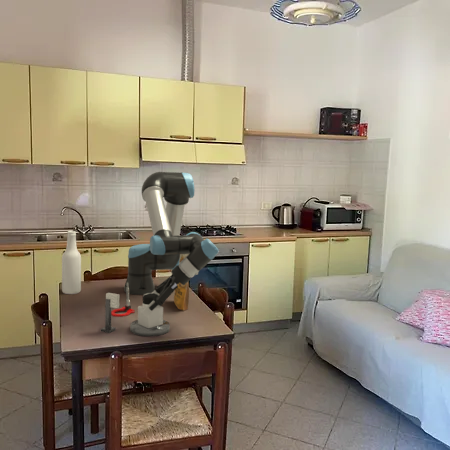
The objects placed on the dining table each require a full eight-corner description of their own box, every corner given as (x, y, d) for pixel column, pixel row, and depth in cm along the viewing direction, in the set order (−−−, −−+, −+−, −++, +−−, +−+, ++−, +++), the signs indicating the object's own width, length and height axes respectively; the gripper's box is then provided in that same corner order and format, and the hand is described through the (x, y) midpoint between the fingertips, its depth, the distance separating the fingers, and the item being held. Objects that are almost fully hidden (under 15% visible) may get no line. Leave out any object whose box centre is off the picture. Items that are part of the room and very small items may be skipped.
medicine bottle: (163, 324, 182) (163, 294, 180) (148, 328, 177) (148, 297, 175) (152, 320, 187) (152, 290, 185) (137, 323, 181) (137, 293, 180)
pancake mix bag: (185, 299, 224) (187, 241, 221) (194, 311, 206) (196, 249, 203) (171, 300, 223) (173, 242, 219) (179, 312, 204) (181, 249, 201)
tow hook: (119, 319, 194) (136, 313, 201) (118, 289, 192) (135, 284, 199) (106, 314, 199) (123, 309, 206) (105, 285, 197) (122, 280, 204)
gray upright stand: (107, 328, 181) (107, 291, 179) (120, 330, 179) (120, 294, 177) (100, 331, 177) (100, 294, 176) (113, 334, 175) (114, 296, 173)
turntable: (144, 320, 192) (144, 316, 191) (176, 326, 186) (176, 322, 186) (122, 332, 178) (122, 326, 178) (156, 339, 172) (156, 333, 172)
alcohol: (79, 294, 225) (79, 232, 221) (60, 294, 224) (60, 232, 220) (82, 289, 233) (82, 230, 230) (63, 289, 232) (63, 229, 228)
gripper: (193, 286, 169) (150, 326, 169) (189, 271, 194) (152, 306, 193) (178, 272, 168) (135, 312, 168) (177, 258, 192) (139, 293, 192)
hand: (144, 309), depth 180 cm, fingers open, 13 cm apart
